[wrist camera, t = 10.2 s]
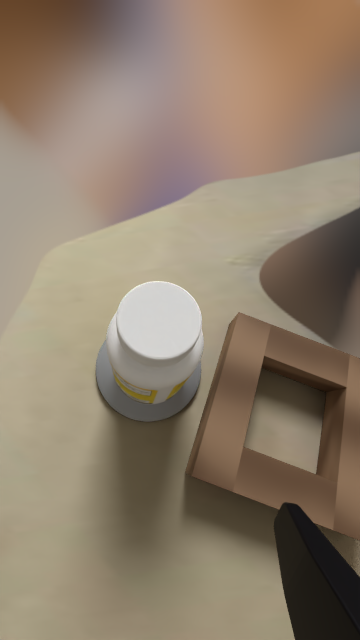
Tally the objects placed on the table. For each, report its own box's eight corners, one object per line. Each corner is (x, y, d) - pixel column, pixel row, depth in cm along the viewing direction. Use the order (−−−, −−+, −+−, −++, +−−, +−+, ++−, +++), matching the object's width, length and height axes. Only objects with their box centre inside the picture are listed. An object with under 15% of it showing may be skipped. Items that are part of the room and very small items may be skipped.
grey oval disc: (180, 438, 21) (181, 437, 21) (77, 398, 21) (76, 397, 21) (212, 340, 24) (213, 338, 24) (122, 306, 24) (122, 304, 24)
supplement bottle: (177, 330, 24) (204, 263, 15) (191, 397, 22) (232, 366, 13) (109, 340, 23) (94, 273, 14) (118, 412, 21) (107, 388, 12)
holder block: (346, 534, 20) (374, 546, 18) (185, 472, 20) (191, 476, 18) (359, 373, 25) (382, 366, 23) (229, 324, 25) (239, 312, 23)
